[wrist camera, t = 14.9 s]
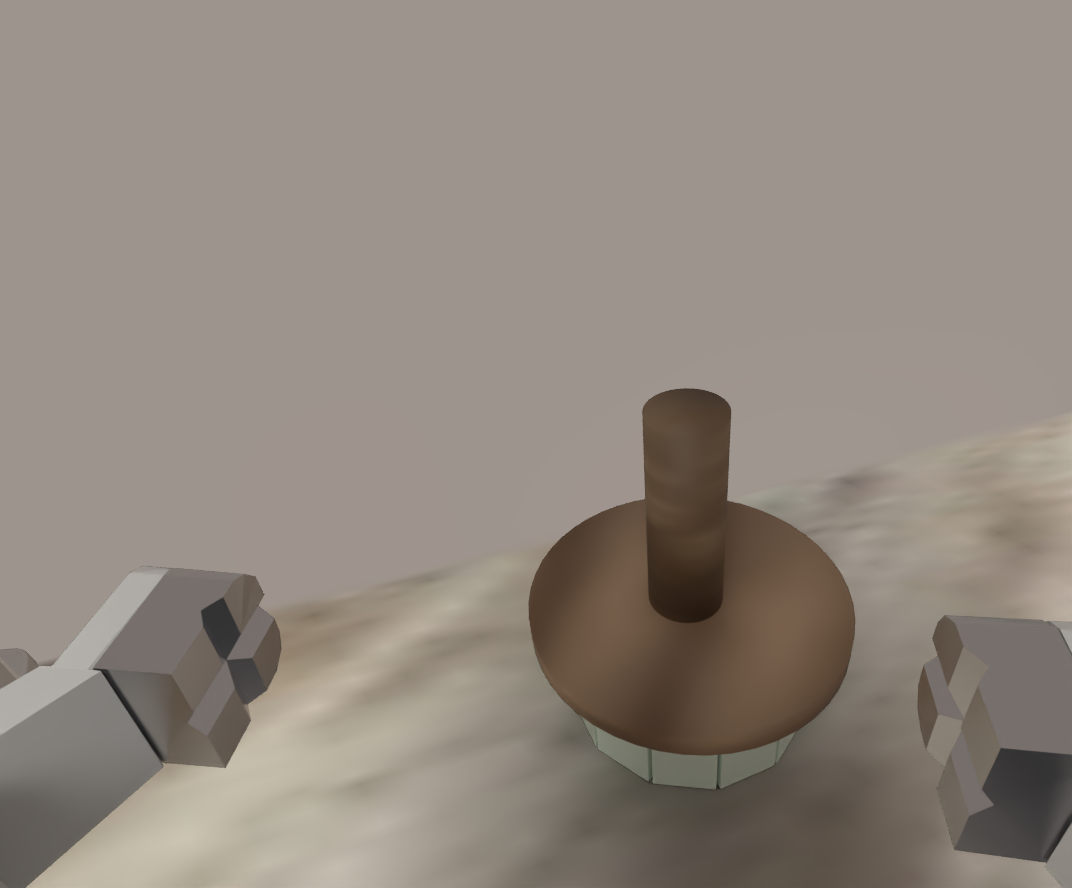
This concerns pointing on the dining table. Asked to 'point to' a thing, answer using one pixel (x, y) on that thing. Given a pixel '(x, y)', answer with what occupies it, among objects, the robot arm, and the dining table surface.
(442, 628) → the dining table surface
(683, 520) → the walnut lid
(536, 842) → the dining table surface
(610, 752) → the celadon bowl
